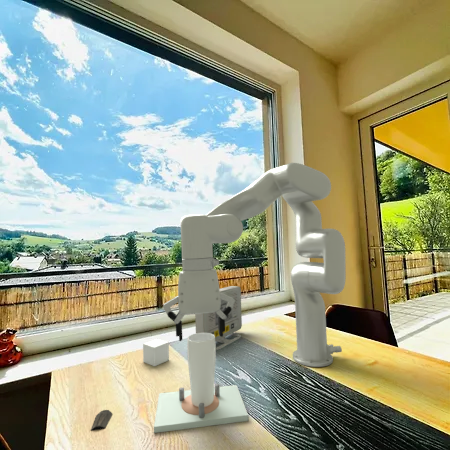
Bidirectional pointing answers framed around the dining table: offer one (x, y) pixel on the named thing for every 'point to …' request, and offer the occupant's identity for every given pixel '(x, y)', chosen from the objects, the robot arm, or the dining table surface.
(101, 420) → the block
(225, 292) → the network device
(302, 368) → the dining table surface
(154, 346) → the white cube
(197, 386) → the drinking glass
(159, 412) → the pin nest plate
